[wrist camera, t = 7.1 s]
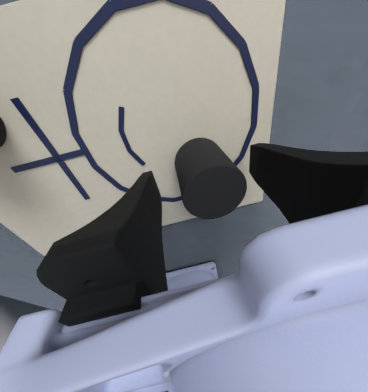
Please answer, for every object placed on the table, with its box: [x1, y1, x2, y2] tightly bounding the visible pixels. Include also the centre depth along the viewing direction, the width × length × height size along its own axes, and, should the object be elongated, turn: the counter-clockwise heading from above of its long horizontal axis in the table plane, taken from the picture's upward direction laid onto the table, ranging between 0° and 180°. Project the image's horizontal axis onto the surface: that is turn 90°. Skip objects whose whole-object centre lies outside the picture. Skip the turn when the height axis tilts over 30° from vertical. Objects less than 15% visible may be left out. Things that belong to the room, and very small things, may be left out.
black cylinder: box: [175, 138, 247, 219], centre depth 11 cm, size 4×4×4 cm
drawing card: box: [0, 0, 286, 256], centre depth 11 cm, size 15×22×1 cm
